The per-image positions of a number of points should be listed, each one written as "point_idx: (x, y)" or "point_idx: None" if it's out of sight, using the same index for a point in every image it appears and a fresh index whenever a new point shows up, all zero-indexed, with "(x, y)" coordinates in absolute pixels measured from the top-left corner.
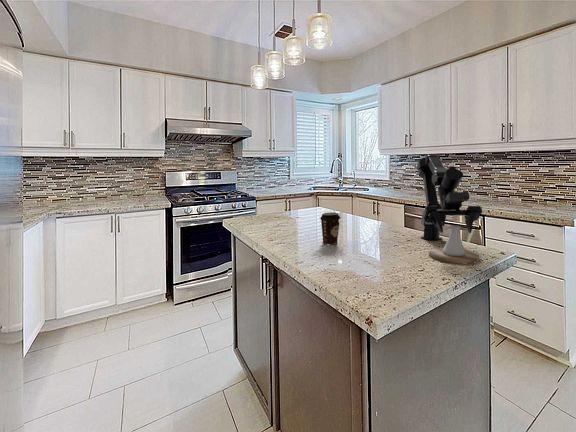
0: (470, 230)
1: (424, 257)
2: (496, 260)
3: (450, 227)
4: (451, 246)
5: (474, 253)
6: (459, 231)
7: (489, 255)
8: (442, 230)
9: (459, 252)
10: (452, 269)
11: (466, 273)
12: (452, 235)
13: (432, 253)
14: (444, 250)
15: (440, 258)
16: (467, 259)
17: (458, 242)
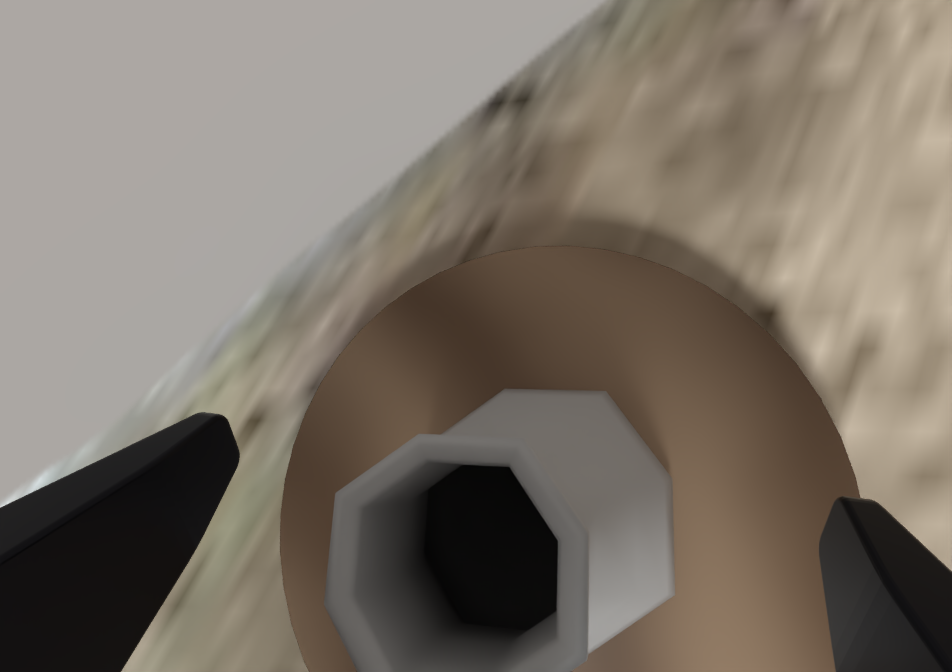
0: (198, 424)
1: (938, 519)
2: (194, 384)
3: (585, 619)
4: (605, 442)
5: (297, 516)
6: (407, 493)
7: None
8: (863, 510)
9: (517, 396)
10: (734, 99)
11: (648, 14)
12: (570, 496)
13: None
14: (665, 535)
15: (777, 348)
16: (492, 285)
17: (498, 426)
